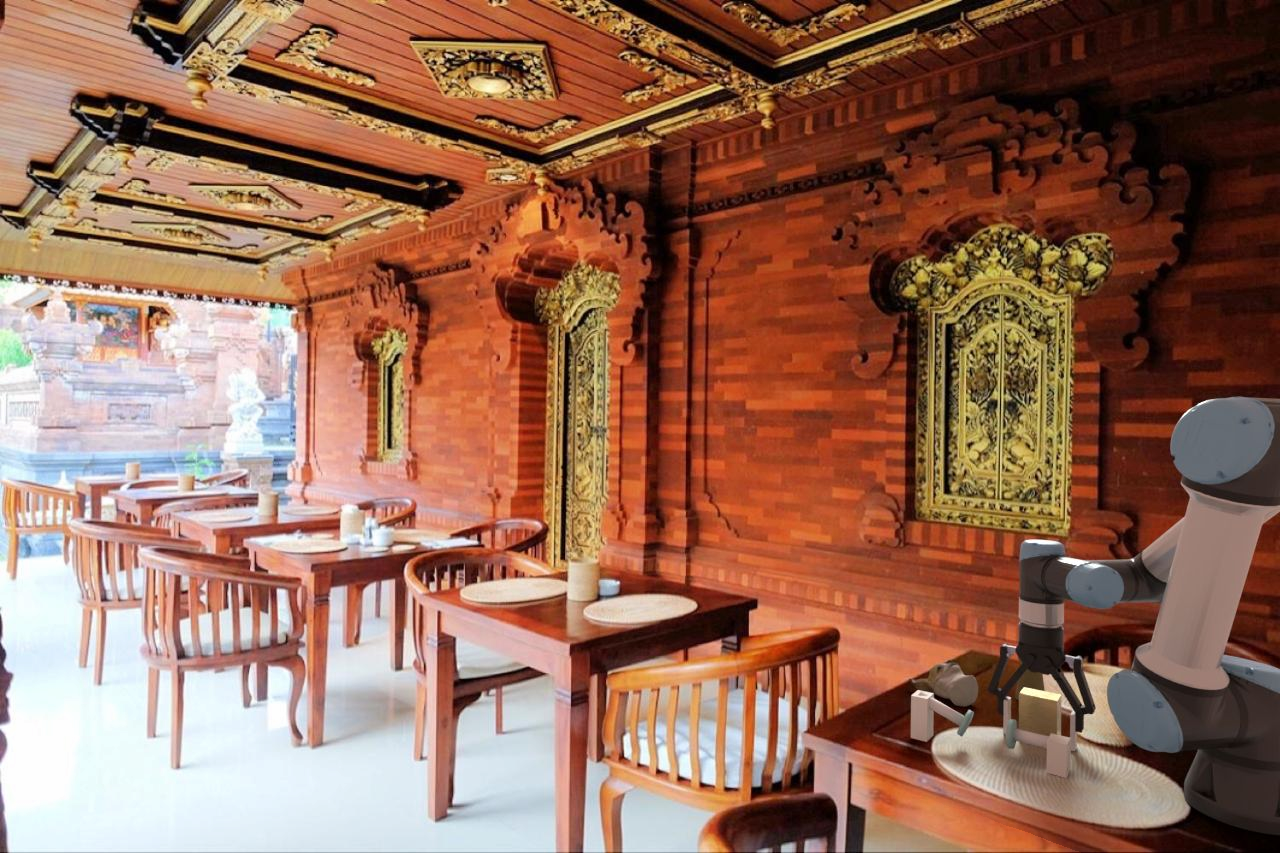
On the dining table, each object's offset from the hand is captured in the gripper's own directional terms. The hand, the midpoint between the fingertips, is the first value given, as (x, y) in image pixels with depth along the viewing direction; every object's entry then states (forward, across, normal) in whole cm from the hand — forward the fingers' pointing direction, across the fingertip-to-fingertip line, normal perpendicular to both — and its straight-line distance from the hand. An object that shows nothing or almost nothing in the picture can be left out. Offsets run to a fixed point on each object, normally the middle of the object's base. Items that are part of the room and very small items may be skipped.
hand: (1039, 740), depth 143 cm
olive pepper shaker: (0, +6, -24) cm, 25 cm away
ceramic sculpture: (+1, +20, -13) cm, 24 cm away
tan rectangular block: (0, 0, 0) cm, 0 cm away
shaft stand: (0, +6, +12) cm, 13 cm away
